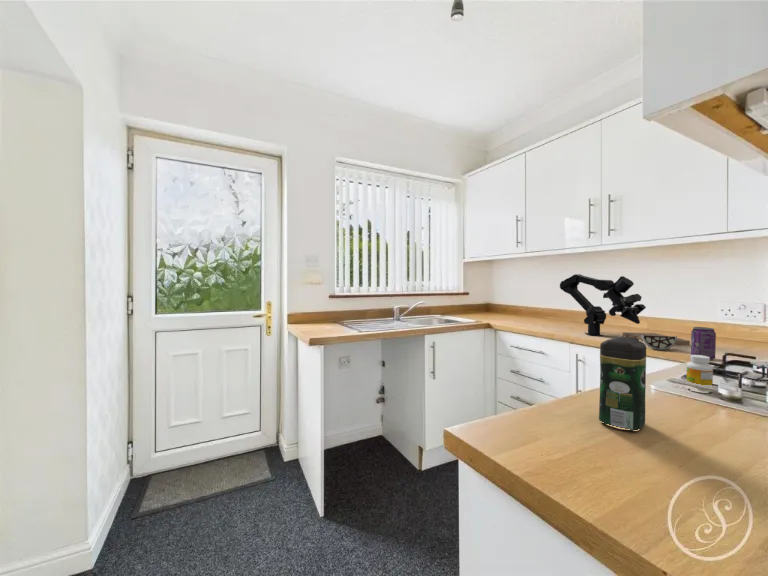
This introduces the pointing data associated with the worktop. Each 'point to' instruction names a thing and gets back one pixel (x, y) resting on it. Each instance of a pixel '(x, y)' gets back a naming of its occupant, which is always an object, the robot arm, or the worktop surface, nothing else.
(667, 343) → the food container
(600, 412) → the coffee jar
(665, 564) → the worktop surface
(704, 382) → the supplement bottle
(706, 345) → the beverage can
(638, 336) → the walnut chopping board
